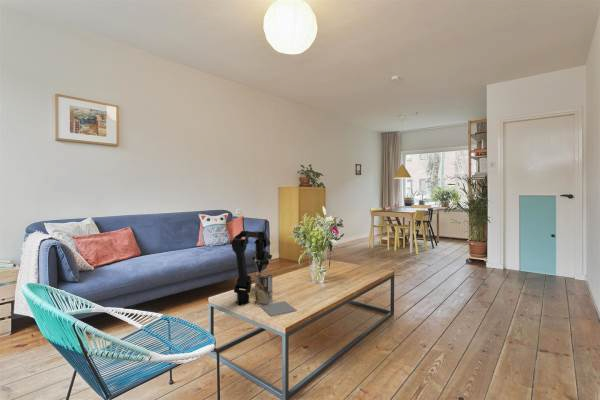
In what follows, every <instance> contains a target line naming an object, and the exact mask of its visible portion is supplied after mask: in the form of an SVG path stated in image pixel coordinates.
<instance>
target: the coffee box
mask: <svg viewBox="0 0 600 400" xmlns="http://www.w3.org/2000/svg"><path fill="white" fill-rule="evenodd" d="M254 282H255V283H254V285H255V287H254V289H255V290H254V291H255V293H254V295H255V303H258V304H264V305H267V304H272V302H273V301H274V300H273V297H274V296H273V274H264V273H259V274H257V275H255V276H254Z"/></svg>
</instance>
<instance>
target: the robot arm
mask: <svg viewBox="0 0 600 400" xmlns="http://www.w3.org/2000/svg"><path fill="white" fill-rule="evenodd" d="M249 238H252V239H254V240H255V241H254V244H255V250H254V253H255V255H251V256H250V260H251V261H254V262H253V263H254V265H255V267H256V269H257V273H259V274H262V269H263V266H265V265H270V261H271V260H272V258H273V255H272V254H270V253H269V251H265V249H266V248H268V247H270V246H271V241H270V239H269V238H268V235H267V233H266V231H264V230H253V231H252V230H251V231H249V230H241V231H240V232H239V233H238V234H237V235H235V236H234V237H233V239H232V241H231V245H230V246H231V249H232V251H233V252H234V253H235V257H236V265H237V271H238V272H237V273H238V277H237V279H236V284H235V286H234V288H233V291H234V293H236V300H235V302H236V304H237V305H239V306H241V305H246V304H250V302H249V301H250V294H249V293H251V289H252V277H251V275H248V271H247V264H246V263H247V262H246V256H245V252H246V250H247V246H248V243H249ZM269 260H270V261H269Z"/></svg>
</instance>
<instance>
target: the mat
mask: <svg viewBox="0 0 600 400" xmlns="http://www.w3.org/2000/svg"><path fill="white" fill-rule="evenodd" d="M259 308H261V309H262V310H263V311H264V312H266V314H268V316H270V317H274V316H279V315H285V314H288V313H292V312H293V313H294V312H297V311H298V310H297V309H296V308H294V306H292V305H291V304H289V303H288V302H287V301H285V300H283V301H279V302H278V301H277V302H273V303H272V302H271V303H269V304H264V305H260V306H259Z"/></svg>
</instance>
